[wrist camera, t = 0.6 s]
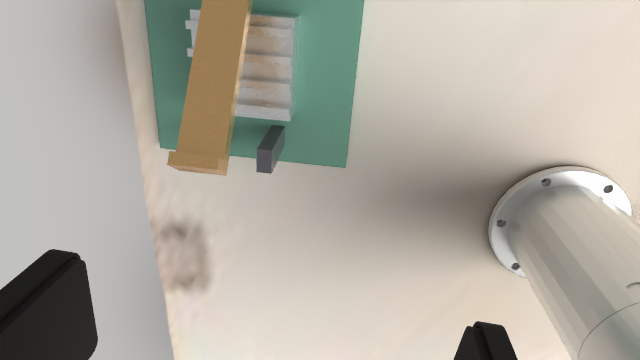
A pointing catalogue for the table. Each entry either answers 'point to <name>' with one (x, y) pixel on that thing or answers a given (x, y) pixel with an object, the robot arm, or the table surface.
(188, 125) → the strap
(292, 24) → the heat sink
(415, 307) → the table surface
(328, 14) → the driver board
